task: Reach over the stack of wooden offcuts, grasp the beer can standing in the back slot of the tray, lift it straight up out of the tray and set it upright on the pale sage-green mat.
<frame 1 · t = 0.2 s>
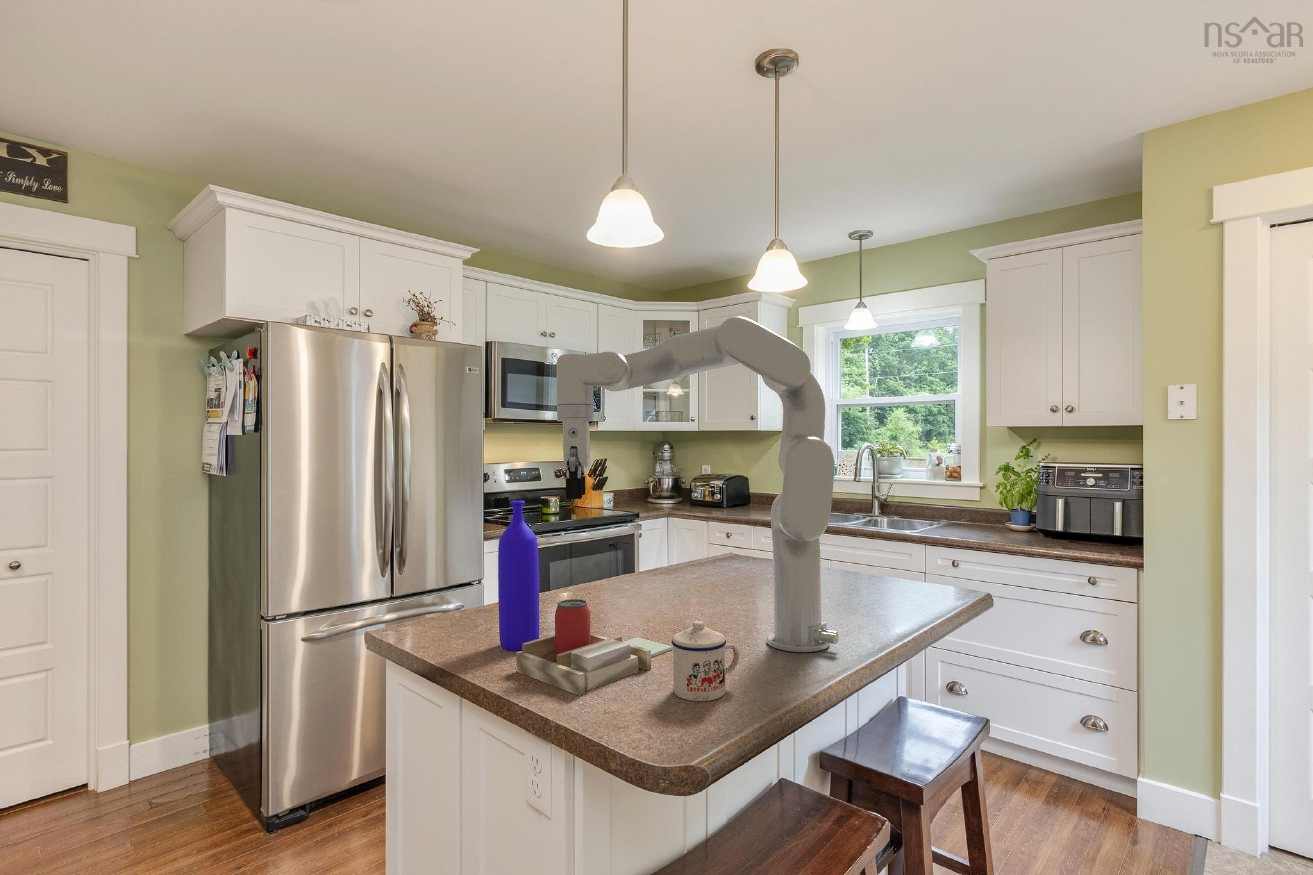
hand: (576, 496, 137), 31 cm above the countertop, tool pointing down, fingers open, 9 cm apart
mat: (637, 650, 133), on the countertop
teacup with lid: (707, 691, 111), on the countertop
beer can: (573, 667, 124), resting in tray
bottle: (519, 646, 137), on the countertop
offcut stack: (604, 678, 118), resting in tray
tray: (583, 670, 122), on the countertop
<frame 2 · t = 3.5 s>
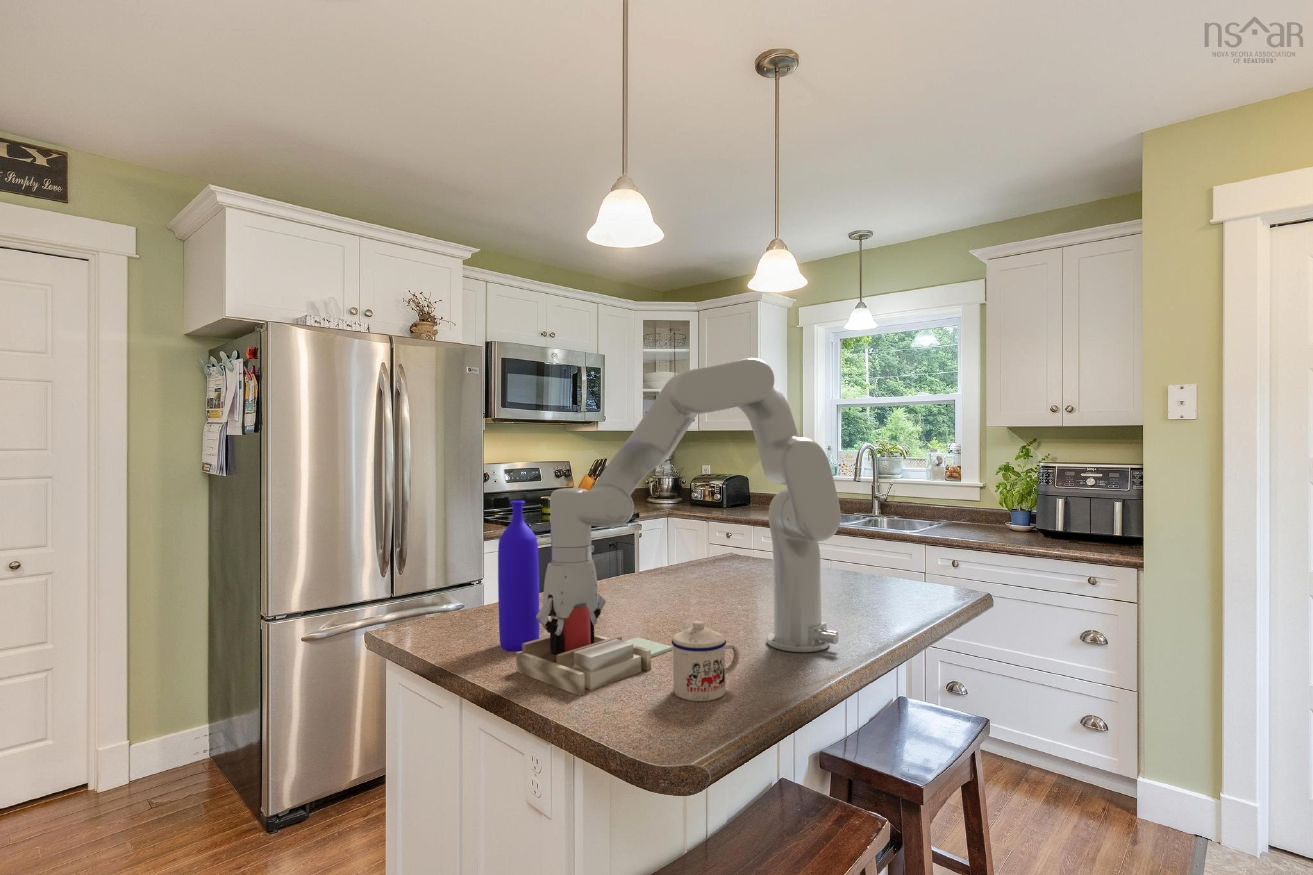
hand: (572, 649, 124), 3 cm above the countertop, tool pointing down, fingers closed on beer can, 6 cm apart
beer can: (573, 667, 124), resting in tray, touching gripper
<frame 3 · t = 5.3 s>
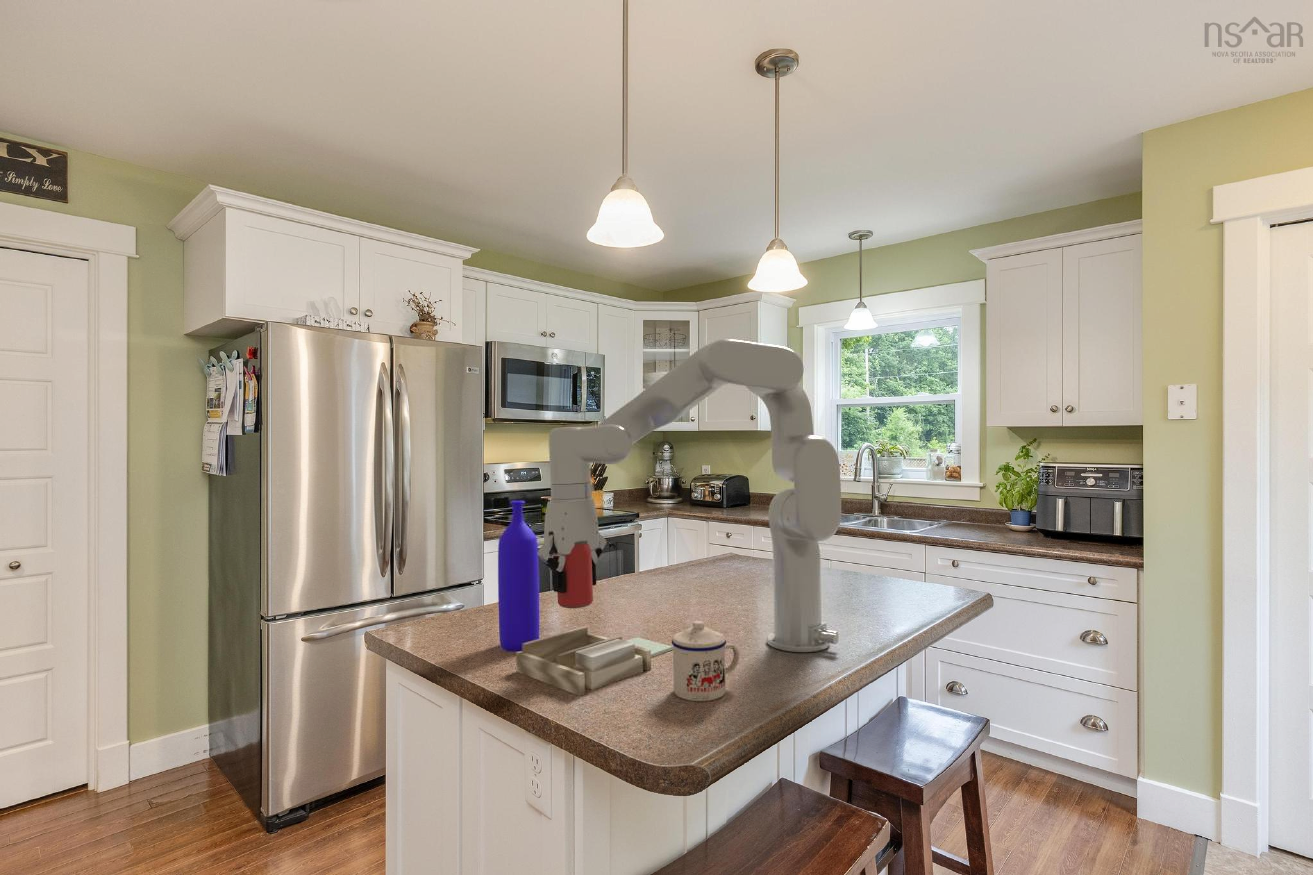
hand: (575, 587, 124), 15 cm above the countertop, tool pointing down, fingers closed on beer can, 6 cm apart
beer can: (575, 605, 124), point 11 cm above the countertop, touching gripper
everything else where it was.
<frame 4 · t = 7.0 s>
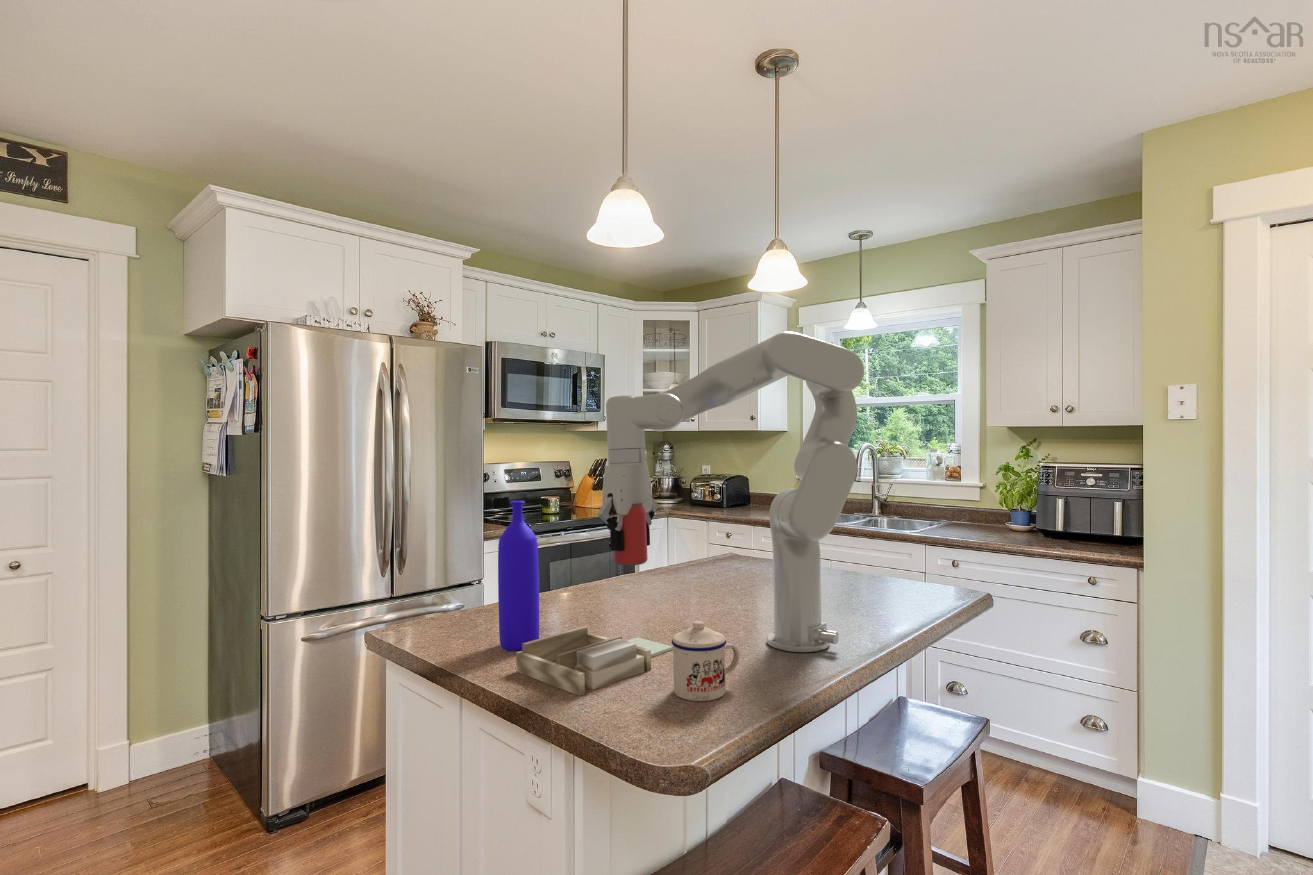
hand: (630, 546, 132), 21 cm above the countertop, tool pointing down, fingers closed on beer can, 6 cm apart
beer can: (631, 564, 132), point 18 cm above the countertop, touching gripper
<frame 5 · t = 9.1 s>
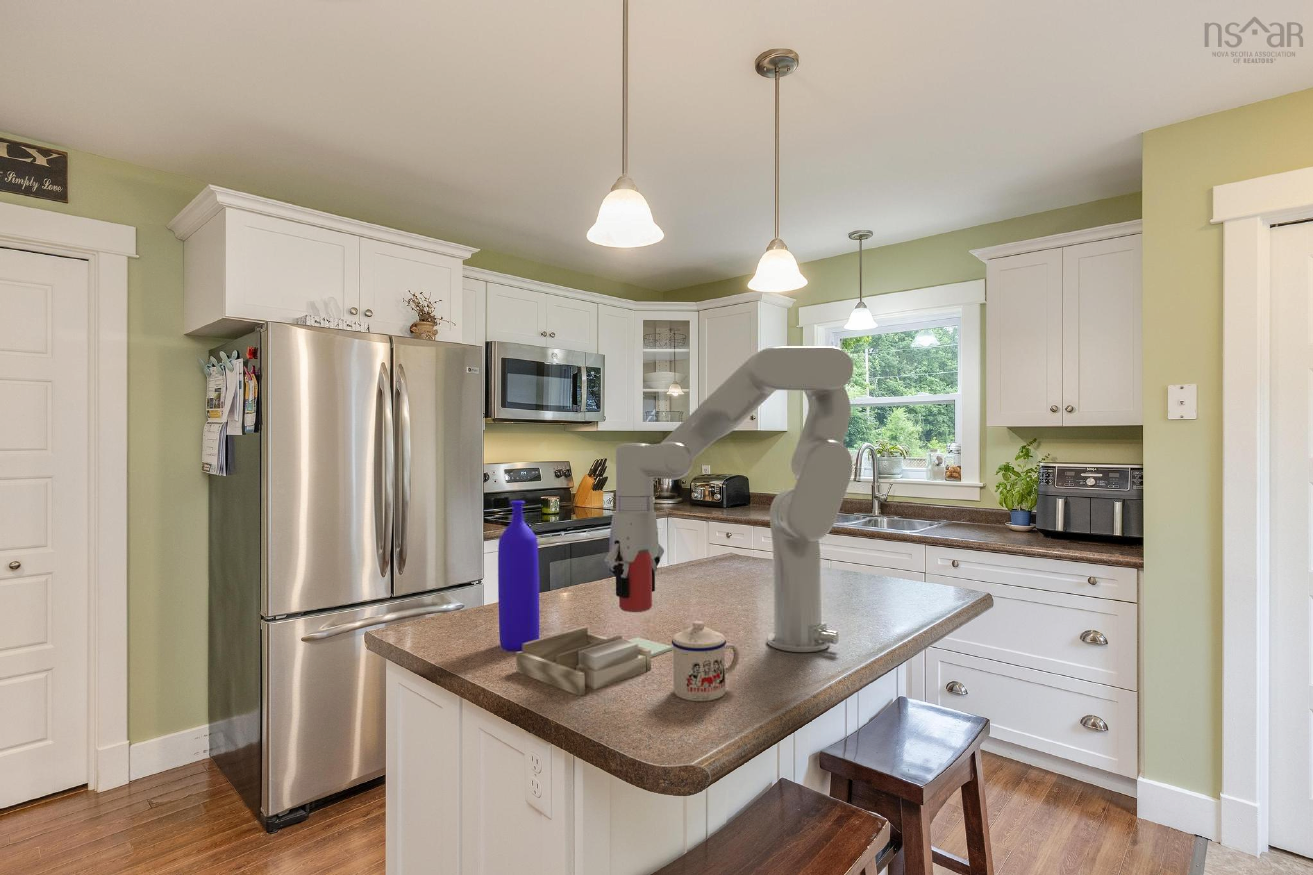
hand: (635, 593, 133), 12 cm above the countertop, tool pointing down, fingers closed on beer can, 6 cm apart
beer can: (635, 609, 133), point 8 cm above the countertop, touching gripper
when the fingers open (5 cm above the countertop, at t = 10.9 s): beer can drops 1 cm, resting on mat.
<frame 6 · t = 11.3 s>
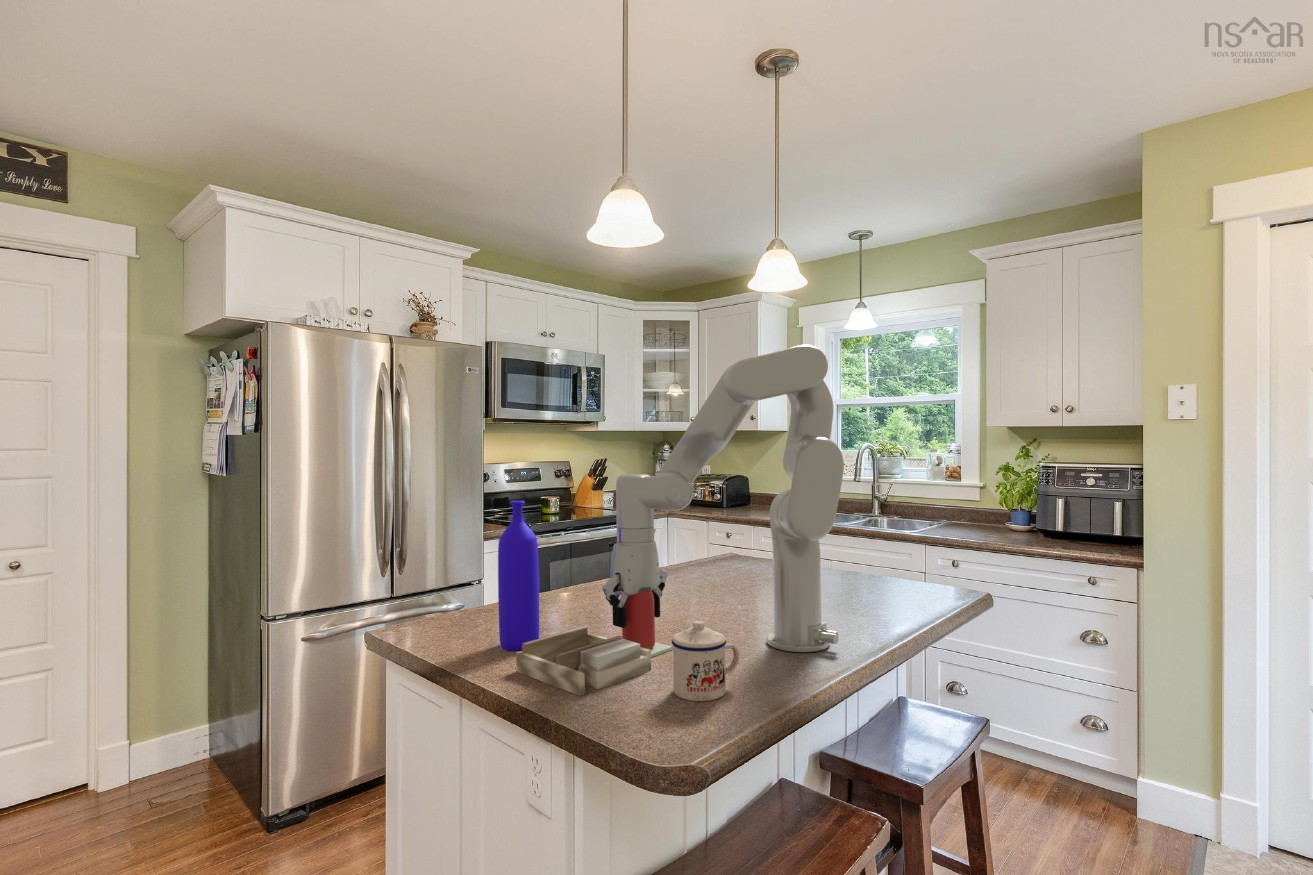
hand: (636, 621, 133), 6 cm above the countertop, tool pointing down, fingers open, 9 cm apart
beer can: (638, 648, 133), resting on mat
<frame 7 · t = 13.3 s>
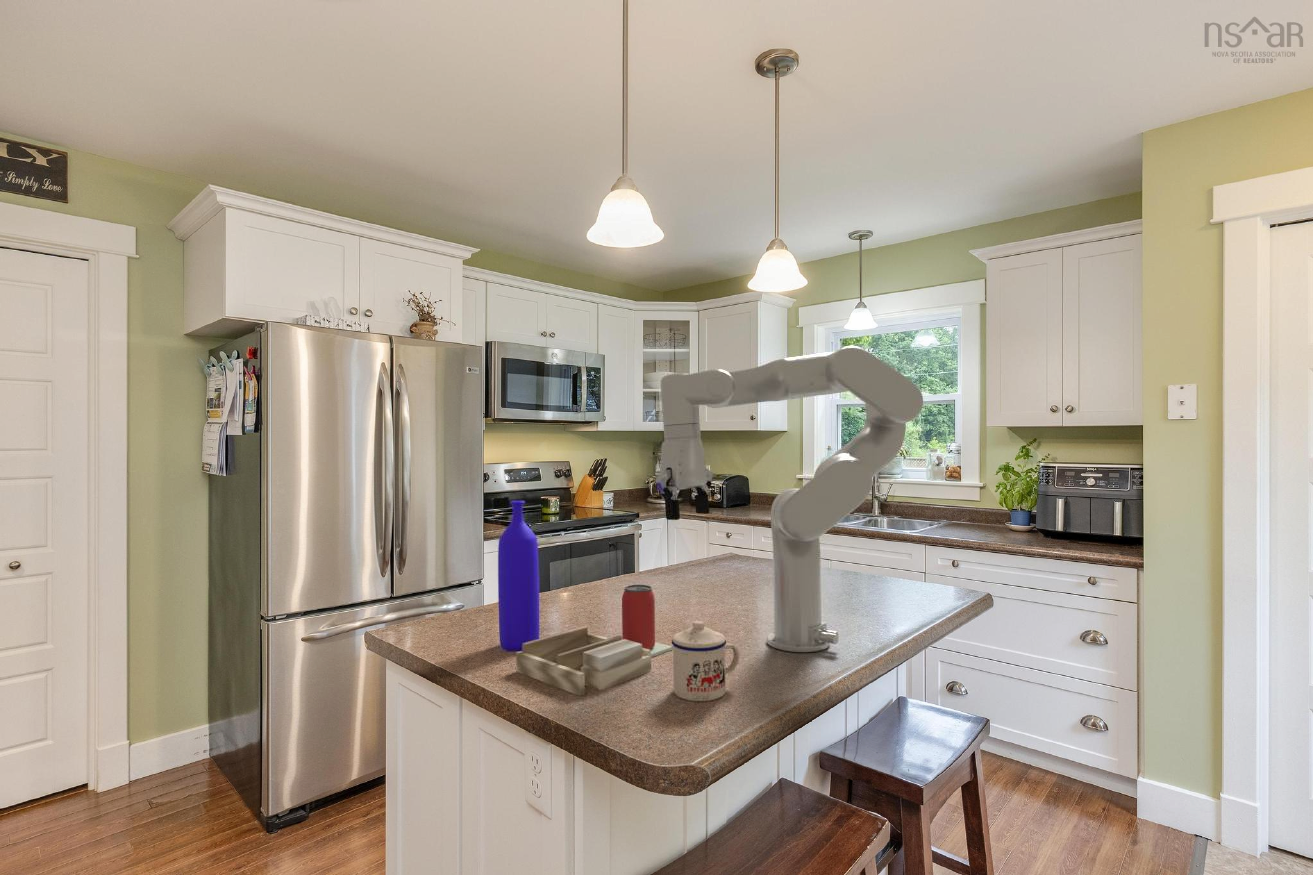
hand: (688, 516, 137), 26 cm above the countertop, tool pointing down, fingers open, 9 cm apart
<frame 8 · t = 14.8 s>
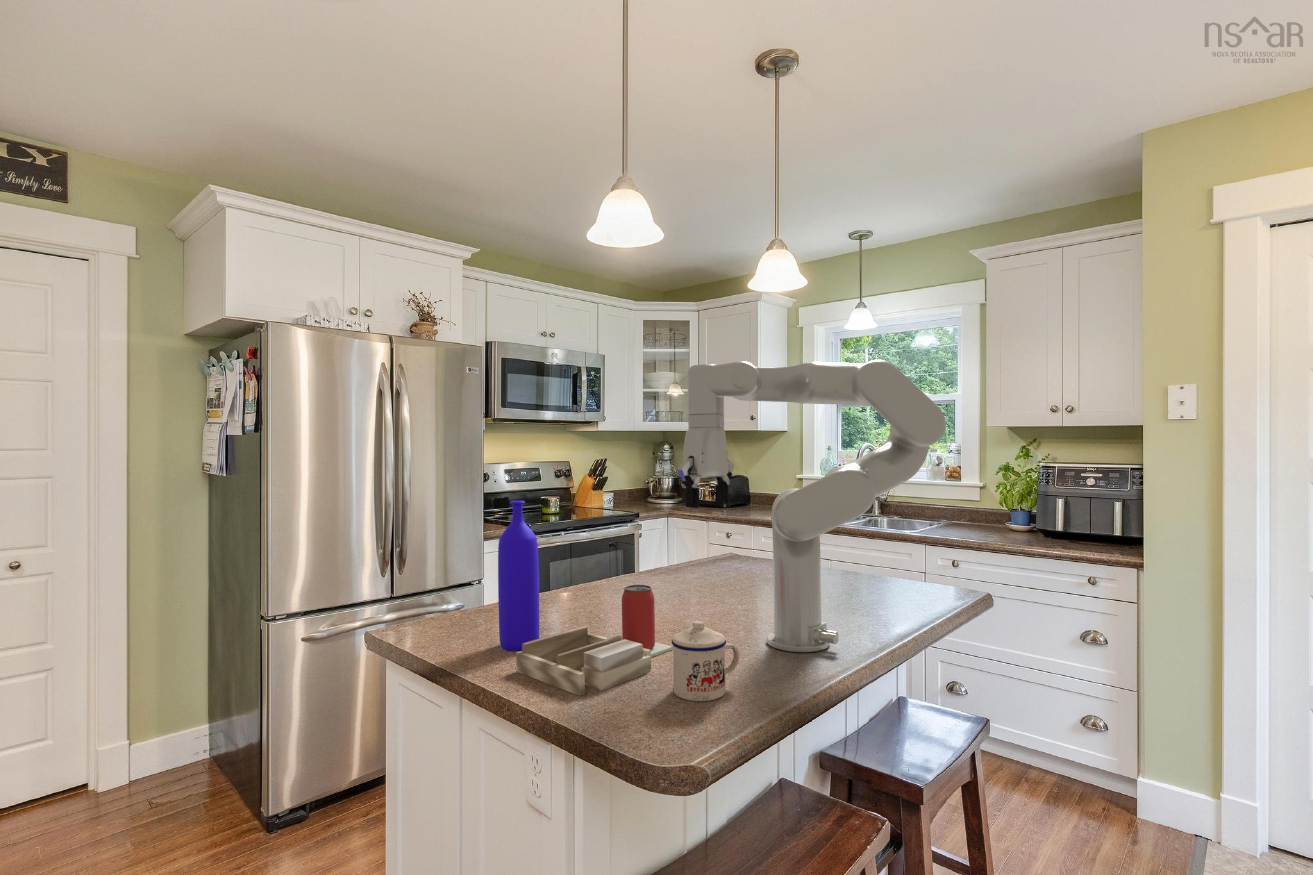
hand: (707, 505, 139), 28 cm above the countertop, tool pointing down, fingers open, 9 cm apart
at the end: beer can inside the target area on the mat (0.3 cm from its centre), point 0.4 cm above the mat's base; beer can tilted 0°; offcut stack moved 2.4 cm from its start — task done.
